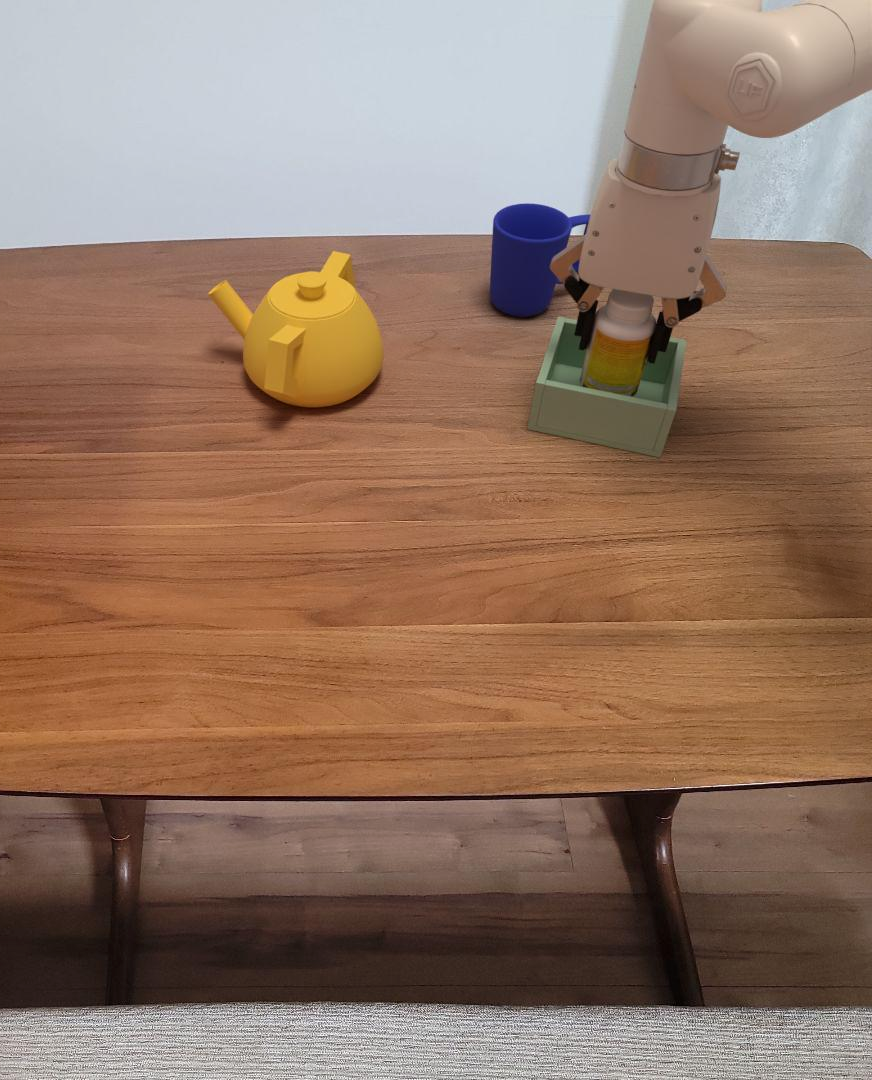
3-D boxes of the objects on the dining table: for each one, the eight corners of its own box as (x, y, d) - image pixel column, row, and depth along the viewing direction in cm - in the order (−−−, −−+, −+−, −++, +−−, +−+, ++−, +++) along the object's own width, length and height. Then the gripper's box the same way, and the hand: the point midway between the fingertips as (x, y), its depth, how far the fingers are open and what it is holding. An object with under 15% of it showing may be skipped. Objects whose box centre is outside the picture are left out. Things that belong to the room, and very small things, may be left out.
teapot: (251, 303, 105) (244, 211, 97) (406, 333, 101) (412, 239, 93) (173, 407, 92) (158, 311, 84) (347, 446, 88) (349, 349, 80)
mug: (599, 308, 104) (619, 225, 97) (504, 330, 101) (518, 247, 94) (560, 272, 109) (576, 191, 102) (469, 293, 106) (479, 210, 99)
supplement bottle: (642, 407, 88) (670, 314, 81) (583, 407, 88) (606, 314, 81) (630, 372, 92) (655, 280, 85) (573, 372, 92) (594, 280, 85)
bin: (671, 386, 94) (687, 339, 90) (660, 457, 87) (676, 410, 83) (548, 362, 97) (557, 316, 93) (526, 429, 90) (536, 382, 86)
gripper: (782, 153, 74) (715, 344, 87) (567, 125, 78) (534, 311, 91) (780, 195, 69) (710, 390, 82) (551, 162, 73) (519, 353, 86)
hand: (618, 347), depth 87 cm, fingers closed on supplement bottle, 5 cm apart
